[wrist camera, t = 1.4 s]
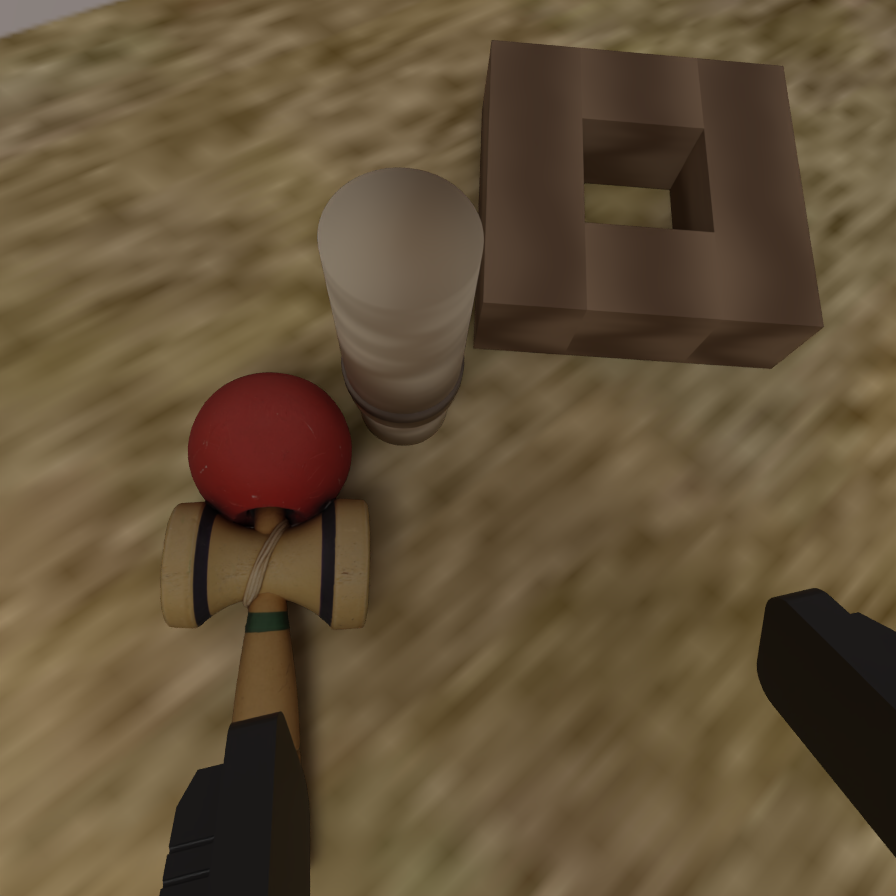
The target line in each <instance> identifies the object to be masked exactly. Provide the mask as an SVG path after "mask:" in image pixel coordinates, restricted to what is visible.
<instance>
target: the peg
mask: <svg viewBox="0 0 896 896" xmlns="http://www.w3.org/2000/svg"><path fill="white" fill-rule="evenodd" d="M317 240H318V248H319V253H320V257H321V262H322V267H323V271H324V276H325V280H326V285H327V290H328V294H329V299H330V304H331V308H332V313H333V317H334V322H335V327H336V331H337V336H338V340H339V345H340V350H341V354H342V358H341V364H342V371H343V376H344V380H345V384H346V387H347V389H348V391H349V393H350V395H351V396H352V398H353V400H354V402H355V404H356V405H357V406H358V408H359V409H360V410H361V414H362V417H363V420H364V422H365V424H366V426H367V427H368V429H369V430H370V431H371V432H372V433H373V434H374V435H375V436H377V437H378V438H379V439H381V440H383V441H385V442H387V443H390V444H394V445H413V444H417V443H420V442H423V441H425V440H426V439H428V438H430V437H431V436H432V435H433V434H434V433H435V432H437V430H438V429H439V428H440V426H441V425H442V423H443V421H444V418H445V415H446V410H447V408H448V407H449V406H450V404H451V403H452V401H453V399H454V397H455V395H456V393H457V391H458V389H459V387H460V384H461V380H462V375H463V370H464V350H465V345H466V339H467V334H468V329H469V323H470V318H471V312H472V307H473V302H474V296H475V291H476V285H477V280H478V275H479V269H480V264H481V258H482V253H483V245H484V232H483V227H482V223H481V220H480V217H479V214H478V213H477V211H476V209H475V207H474V205H473V204H472V203H471V201H470V200H469V198H468V197H467V196H466V195H465V194H464V193H463V192H462V191H461V190H460V189H458V188H457V187H456V186H455V185H453V184H452V183H450V182H449V181H447V180H445V179H443V178H441V177H439V176H437V175H435V174H432V173H429V172H426V171H422V170H418V169H411V168H386V169H380V170H375V171H372V172H369V173H366V174H363V175H361V176H359V177H357V178H355V179H353V180H351V181H350V182H348V183H347V184H345V185H344V186H343V187H342V188H340V189H339V190H338V191H337V192H336V193H335V194H334V195H333V196H332V198H331V199H330V200H329V202H328V203H327V205H326V207H325V208H324V210H323V212H322V215H321V218H320V221H319V226H318V235H317Z"/></svg>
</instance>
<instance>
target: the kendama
mask: <svg viewBox="0 0 896 896" xmlns="http://www.w3.org/2000/svg"><path fill="white" fill-rule="evenodd" d="M351 457H352V444H351V437H350V433H349V429H348V426H347V423H346V421H345V418H344V416H343V414H342V412H341V411H340V409H339V408H338V406H337V405H336V403H335V402H334V401H333V400H332V398H331V397H330V396H329V395H328V394H327V393H326V392H325V391H323V390H322V389H321V388H319V387H318V386H317V385H315V384H313V383H312V382H310V381H307V380H305V379H302V378H300V377H297V376H293V375H289V374H283V373H272V372H266V373H256V374H251V375H247V376H244V377H241V378H238V379H235V380H233V381H231V382H229V383H227V384H226V385H224V386H223V387H221V388H220V389H218V390H217V391H216V392H215V393H214V394H213V395H212V396H211V397H210V398H209V399H208V400H207V401H206V402H205V404H204V405H203V407H202V408H201V410H200V411H199V413H198V415H197V417H196V419H195V421H194V423H193V426H192V429H191V433H190V437H189V443H188V460H189V467H190V470H191V474H192V477H193V480H194V482H195V484H196V486H197V488H198V490H199V492H200V494H201V495H202V496H203V498H204V499H205V502H194V503H181V504H178V505H177V506H176V507H175V508H174V510H173V511H172V514H171V516H170V518H169V521H168V524H167V529H166V534H165V540H164V549H163V554H162V564H161V579H160V587H161V608H162V612H163V616H164V619H165V621H166V623H167V624H168V625H169V626H170V627H175V628H196V627H199V626H201V625H202V624H203V623H204V622H205V621H206V620H207V619H209V618H210V617H211V616H213V615H214V614H216V613H217V612H219V611H220V610H222V609H224V608H226V607H227V606H230V605H232V604H235V603H237V602H241V601H243V605H244V606H245V607H248V617H247V623H246V626H245V636H244V641H243V647H242V654H241V660H240V665H239V672H238V679H237V685H236V693H235V701H234V710H233V719H232V723H233V722H237V721H241V720H245V719H250V718H254V717H258V716H262V715H267V714H271V713H275V712H279V711H281V712H282V713H283V714H284V716H285V719H286V722H287V725H288V728H289V731H290V734H291V737H292V740H293V743H294V746H295V749H296V752H297V755H298V758H299V761H300V764H301V756H300V751H299V746H300V732H299V712H298V696H297V685H296V675H295V667H294V659H293V650H292V643H291V635H290V627H289V620H288V609H287V600H288V601H291V602H294V603H296V604H298V605H301V606H303V607H305V608H307V609H309V610H311V611H312V612H314V613H315V614H317V615H318V616H319V617H320V618H322V619H323V620H324V621H325V622H326V623H327V624H328V625H329V626H330V627H331V628H332V629H333V630H337V629H352V628H362V627H363V626H364V624H365V621H366V616H367V609H368V602H369V599H368V597H369V580H370V524H369V511H368V506H367V504H366V502H365V501H364V500H360V499H339V498H338V499H336V497H337V495H338V494H339V492H340V491H341V489H342V487H343V485H344V483H345V481H346V479H347V476H348V473H349V469H350V465H351Z"/></svg>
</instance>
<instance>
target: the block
mask: <svg viewBox="0 0 896 896" xmlns="http://www.w3.org/2000/svg"><path fill="white" fill-rule="evenodd" d="M584 183H595V184H607V185H620V186H632V187H645V188H657V189H670V197H671V210H672V223H673V229H663V228H650V227H637V226H625V225H612V224H599V223H586V222H585V207H584ZM478 214H479V217H480V220H481V223H482V227H483V232H484V245H483V253H482V258H481V264H480V269H479V275H478V280H477V285H476V295H475V323H474V348H477V349H491V350H506V351H521V352H535V353H550V354H564V355H579V356H593V357H608V358H622V359H637V360H652V361H666V362H681V363H695V364H710V365H724V366H739V367H753V368H768V369H772V368H773V367H774V366H775V365H777V364H778V363H779V362H780V361H782V360H783V359H784V358H785V357H787V356H788V355H789V354H790V353H792V352H793V351H794V350H795V349H797V348H798V347H799V346H800V345H802V344H803V343H804V342H805V341H807V340H808V339H809V338H810V337H812V336H813V335H814V334H816V333H817V332H818V331H819V330H821V329H822V328H823V327H824V325H823V318H822V312H821V305H820V299H819V293H818V286H817V280H816V273H815V267H814V260H813V254H812V247H811V241H810V235H809V228H808V222H807V215H806V209H805V202H804V196H803V190H802V183H801V177H800V170H799V164H798V157H797V151H796V145H795V138H794V132H793V125H792V119H791V112H790V106H789V99H788V93H787V87H786V80H785V74H784V67H783V66H777V65H766V64H754V63H743V62H732V61H721V60H710V59H699V58H687V57H676V56H665V55H654V54H643V53H631V52H620V51H609V50H598V49H587V48H575V47H564V46H553V45H542V44H531V43H519V42H508V41H497V40H492V42H491V49H490V56H489V64H488V71H487V79H486V86H485V93H484V101H483V108H482V131H481V159H480V186H479V213H478Z"/></svg>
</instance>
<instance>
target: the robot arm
mask: <svg viewBox="0 0 896 896" xmlns="http://www.w3.org/2000/svg"><path fill="white" fill-rule="evenodd" d="M757 673H758V677H759V681H760V684H761V686H762V688H763V691H764V692H765V694H766V696H767V698H768V699H769V701H770V702H771V703H772V705H773V706H774V707H775V708H776V710H777V711H778V712H779V713H780V715H781V716H782V717H783V718H784V720H785V721H786V722H787V723H788V725H789V726H790V727H791V728H792V730H793V731H794V732H795V733H796V734H797V736H798V737H799V738H800V739H801V741H802V742H803V743H804V744H805V746H806V747H807V748H808V749H809V751H810V752H811V753H812V754H813V756H814V757H815V758H816V759H817V761H818V762H819V763H820V764H821V765H822V767H823V768H824V769H825V770H826V772H827V773H828V774H829V775H830V777H831V778H832V779H833V780H834V782H835V783H836V784H837V785H838V787H839V788H840V789H841V790H842V792H843V793H844V794H845V795H846V797H847V798H848V799H849V800H850V801H851V803H852V804H853V805H854V806H855V808H856V809H857V810H858V811H859V813H860V814H861V815H862V816H863V818H864V819H865V820H866V821H867V823H868V824H869V825H870V826H871V828H872V829H873V830H874V831H875V832H876V834H877V835H878V836H879V837H880V839H881V840H882V841H883V842H884V844H885V845H886V846H887V847H888V849H889V850H890V851H891V852H892V854H893V855H894V856H895V857H896V632H895V631H894V630H892V629H890V628H888V627H886V626H884V625H882V624H880V623H878V622H876V621H874V620H872V619H870V618H868V617H867V616H865V615H863V614H861V613H859V612H857V613H853V614H850V613H848V612H847V611H846V610H845V609H844V608H843V607H842V606H841V605H839V604H838V603H837V602H836V601H835V600H834V599H833V598H832V597H831V596H829V595H828V594H827V593H826V592H824V591H822V590H820V589H817V588H812V589H807V590H803V591H799V592H795V593H790V594H786V595H782V596H777V597H773V598H771V599H769V600H768V602H767V604H766V607H765V613H764V620H763V626H762V632H761V639H760V645H759V652H758V658H757ZM169 849H170V852H169V854H168V855H167V859H166V864H165V869H164V875H163V880H162V881H163V889H161V890H160V895H159V896H310V812H309V800H308V792H307V786H306V781H305V776H304V773H303V770H302V767H301V764H300V761H299V758H298V755H297V752H296V749H295V746H294V743H293V740H292V737H291V734H290V731H289V728H288V725H287V722H286V719H285V716H284V714H283V713H282V712H281V711H279V712H275V713H271V714H267V715H262V716H258V717H254V718H250V719H245V720H241V721H237V722H233V723H231V724H230V727H229V730H228V734H227V742H226V749H225V757H224V764H220V765H216V766H212V767H208V768H204V769H200V770H197V772H196V774H195V776H194V777H193V779H192V781H191V783H190V784H189V786H188V788H187V790H186V791H185V793H184V795H183V797H182V798H181V800H180V802H179V804H178V805H177V807H176V812H175V817H174V823H173V828H172V833H171V838H170V843H169Z"/></svg>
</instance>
